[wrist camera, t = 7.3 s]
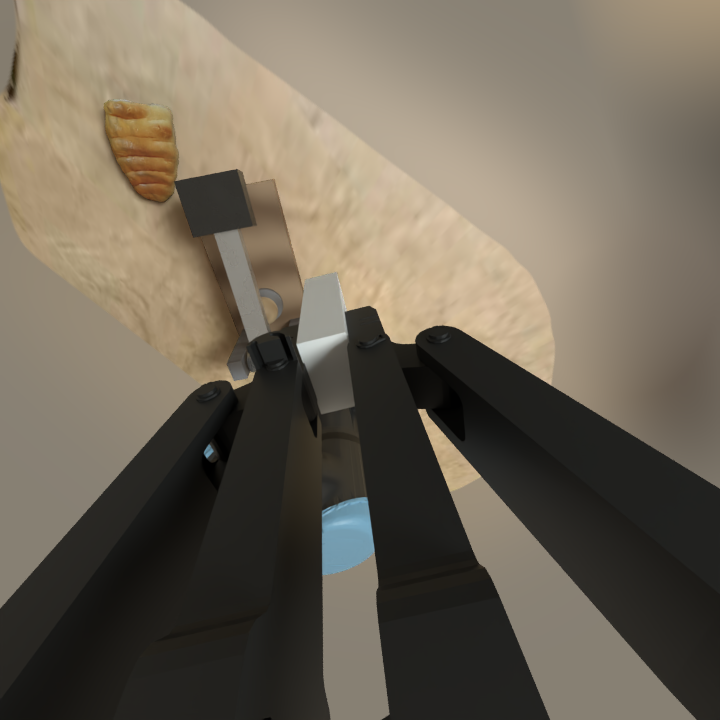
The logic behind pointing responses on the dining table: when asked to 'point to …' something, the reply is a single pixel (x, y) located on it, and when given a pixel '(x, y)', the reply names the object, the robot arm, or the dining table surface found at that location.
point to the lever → (227, 237)
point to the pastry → (144, 146)
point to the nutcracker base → (262, 270)
